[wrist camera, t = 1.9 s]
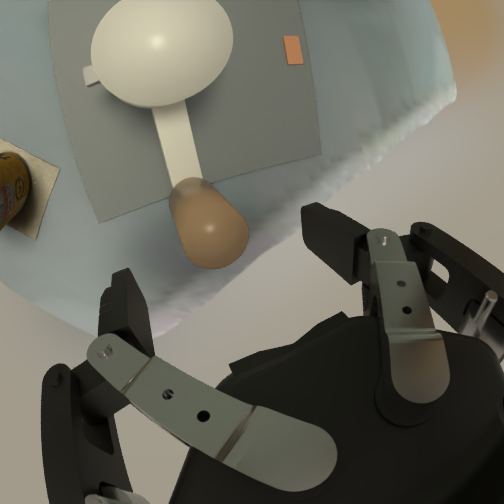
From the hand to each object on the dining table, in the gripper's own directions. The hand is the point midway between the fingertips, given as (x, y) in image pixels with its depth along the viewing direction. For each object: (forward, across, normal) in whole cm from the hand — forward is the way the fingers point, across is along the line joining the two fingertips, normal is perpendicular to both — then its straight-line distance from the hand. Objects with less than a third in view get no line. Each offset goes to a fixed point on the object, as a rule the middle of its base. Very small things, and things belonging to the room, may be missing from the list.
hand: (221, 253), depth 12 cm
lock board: (+14, -3, -10) cm, 18 cm away
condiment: (+14, +15, -6) cm, 22 cm away
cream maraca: (+9, 0, -6) cm, 11 cm away
